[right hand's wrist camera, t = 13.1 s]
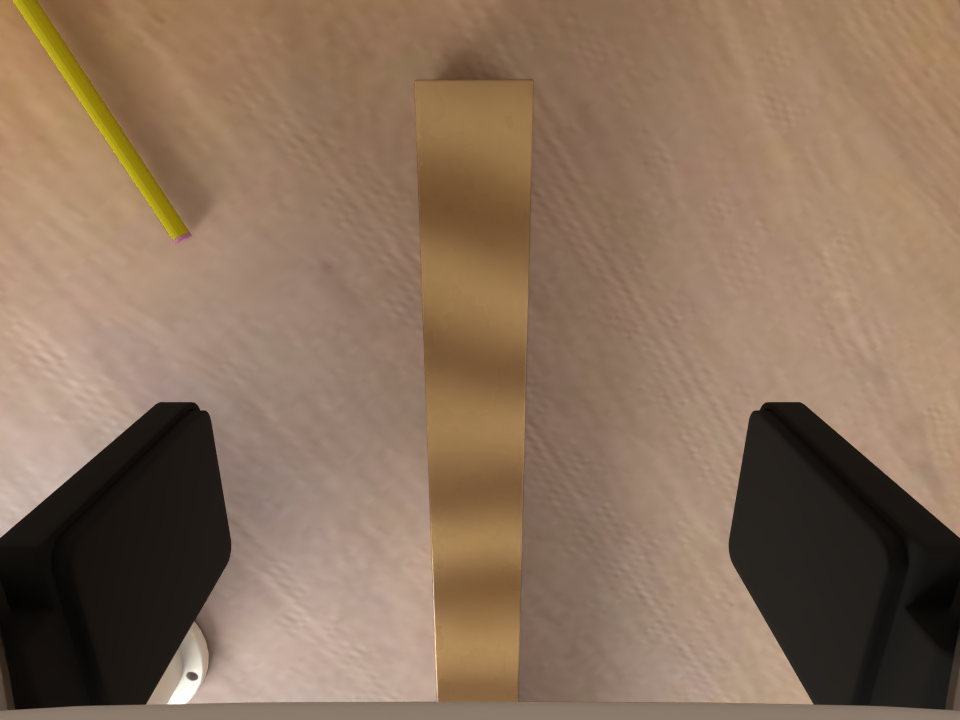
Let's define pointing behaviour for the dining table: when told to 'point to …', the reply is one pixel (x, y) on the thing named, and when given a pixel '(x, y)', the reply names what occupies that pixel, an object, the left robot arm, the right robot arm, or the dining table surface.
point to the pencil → (102, 117)
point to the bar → (475, 371)
